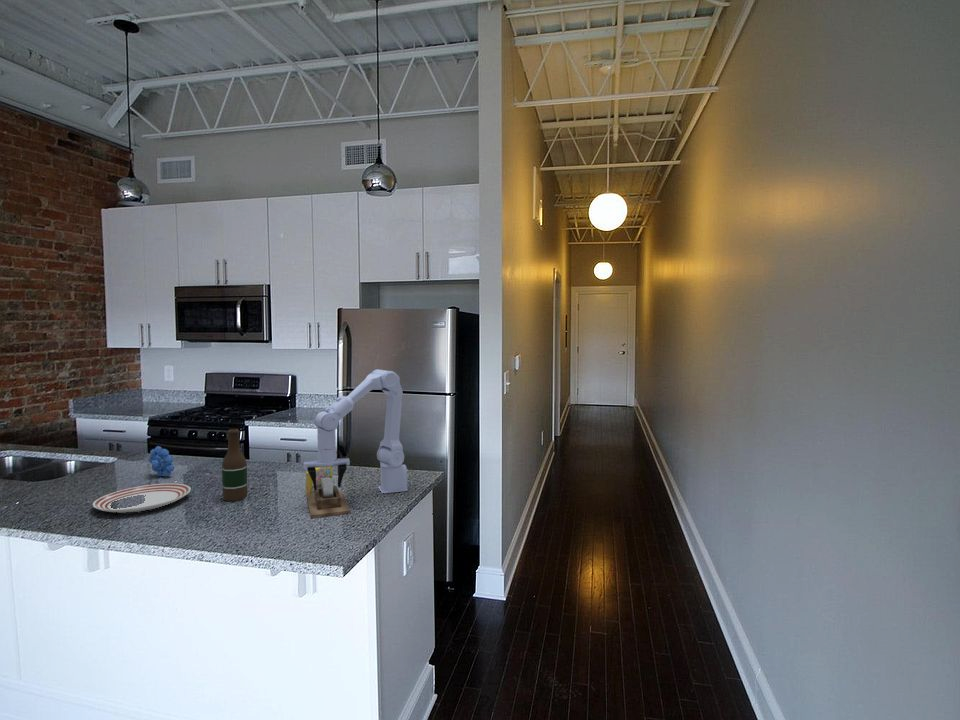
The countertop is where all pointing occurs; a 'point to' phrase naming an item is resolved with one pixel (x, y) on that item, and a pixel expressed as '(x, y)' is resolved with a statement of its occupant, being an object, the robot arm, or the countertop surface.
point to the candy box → (317, 478)
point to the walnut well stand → (327, 504)
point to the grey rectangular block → (327, 488)
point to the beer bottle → (234, 470)
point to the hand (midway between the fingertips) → (327, 488)
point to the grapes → (161, 461)
